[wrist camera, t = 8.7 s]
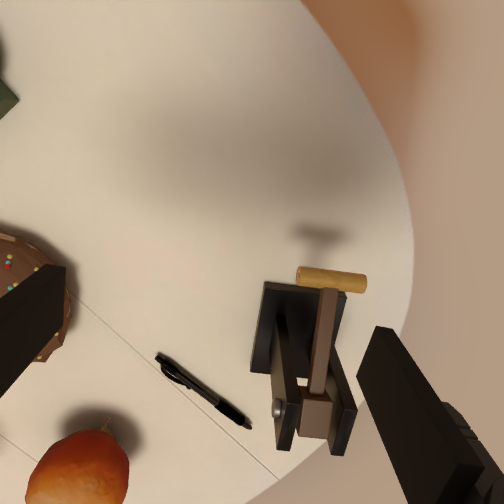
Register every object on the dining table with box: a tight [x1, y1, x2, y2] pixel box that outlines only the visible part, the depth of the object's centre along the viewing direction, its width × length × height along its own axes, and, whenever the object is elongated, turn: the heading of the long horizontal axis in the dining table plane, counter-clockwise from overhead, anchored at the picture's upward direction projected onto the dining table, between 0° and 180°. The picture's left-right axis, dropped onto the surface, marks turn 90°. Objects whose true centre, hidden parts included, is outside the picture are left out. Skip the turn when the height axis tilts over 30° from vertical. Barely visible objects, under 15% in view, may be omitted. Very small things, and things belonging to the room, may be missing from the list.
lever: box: [296, 266, 367, 439], centre depth 27 cm, size 12×5×2 cm, turn 172°
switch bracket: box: [250, 282, 358, 456], centre depth 32 cm, size 10×8×13 cm
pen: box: [155, 355, 252, 430], centre depth 40 cm, size 14×2×1 cm, turn 45°
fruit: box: [25, 417, 129, 504], centre depth 39 cm, size 10×9×10 cm
